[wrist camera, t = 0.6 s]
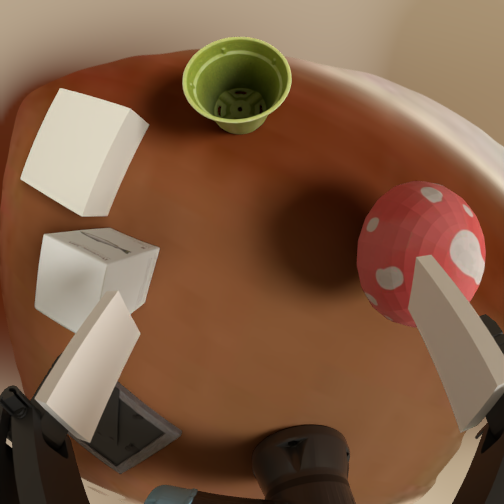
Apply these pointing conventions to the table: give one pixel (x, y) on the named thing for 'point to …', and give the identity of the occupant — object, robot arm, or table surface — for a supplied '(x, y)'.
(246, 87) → the plant pot
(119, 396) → the picture frame
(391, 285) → the decorative mushroom
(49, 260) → the supplement box
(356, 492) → the table surface
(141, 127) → the plinth
